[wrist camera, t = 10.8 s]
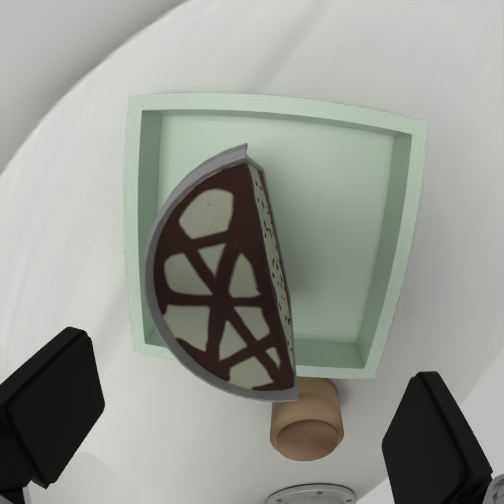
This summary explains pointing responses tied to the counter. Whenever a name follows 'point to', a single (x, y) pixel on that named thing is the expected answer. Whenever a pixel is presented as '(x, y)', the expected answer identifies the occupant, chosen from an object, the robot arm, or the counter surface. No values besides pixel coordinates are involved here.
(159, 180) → the bin
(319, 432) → the salt cellar
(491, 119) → the counter surface
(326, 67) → the counter surface
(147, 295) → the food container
